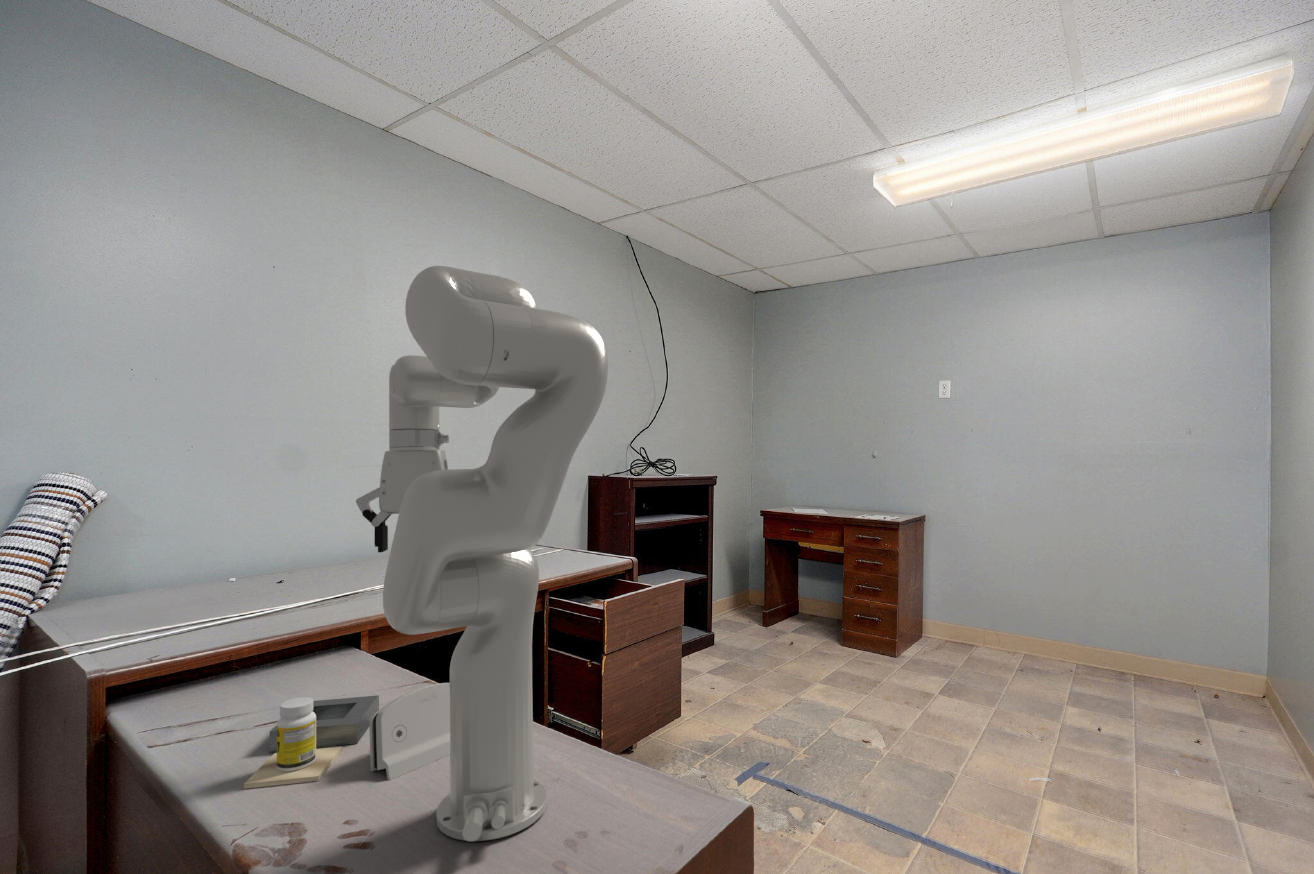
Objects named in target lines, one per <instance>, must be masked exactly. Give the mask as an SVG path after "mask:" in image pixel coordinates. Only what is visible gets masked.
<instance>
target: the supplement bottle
mask: <svg viewBox="0 0 1314 874" xmlns="http://www.w3.org/2000/svg"><path fill="white" fill-rule="evenodd" d="M313 701H314V699H313V698H312V697H309V696H306V697H303V696H302V697H296V698H290V699H289V700H285V701H283V702H281V704H280V706H279V716H280V717H279V719H278V720H277V723H276V725H277V752H276V753H277V769H278V770H280V771H283V772H289V771H295V770H299V769H303V768H305V767H308V766H310V765H311V764H312V763H314V761H315V760H316V749H317V748H316V714H315V713H314V712H313V708H314V706H313Z"/></svg>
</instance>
